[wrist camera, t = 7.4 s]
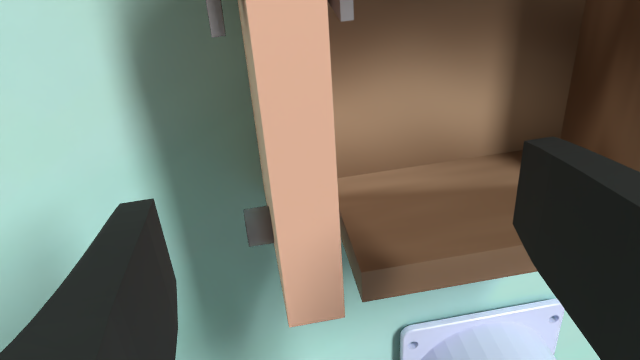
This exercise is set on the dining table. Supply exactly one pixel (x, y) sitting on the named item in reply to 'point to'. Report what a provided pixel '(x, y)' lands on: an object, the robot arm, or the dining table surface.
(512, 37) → the cabinet
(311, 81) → the door
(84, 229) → the dining table surface
